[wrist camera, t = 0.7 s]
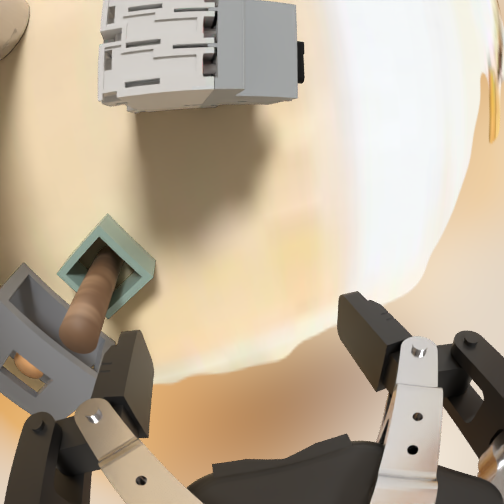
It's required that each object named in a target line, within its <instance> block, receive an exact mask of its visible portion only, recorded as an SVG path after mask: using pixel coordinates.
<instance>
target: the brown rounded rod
mask: <svg viewBox="0 0 504 504" xmlns="http://www.w3.org/2000/svg"><path fill="white" fill-rule="evenodd" d="M122 265H123V259H122V258H121V257H120V256H119V255H118V254H117V253H116V252H115V251H114V250H113V249H112V248H111V247H110V246H106V247H103V248H102V249H101V250H100V251H99V252H98V254H97V256H96V257H95V259H94V261H93V263H92V265H91V266H90V268H89V270H88V272H87V274H86V276H85V277H84V279H83V281H82V283H81V285H80V287H79V289H78V291H77V293H76V295H75V297H74V299H73V301H72V303H71V305H70V307H69V309H68V311H67V313H66V315H65V317H64V319H63V322H62V324H61V326H60V328H59V337H60V339H61V341H62V343H63V344H64V345H65V346H66V347H67V348H68V349H70V350H72V351H74V352H76V353H80V354H88V353H91V352H93V351H94V350H95V349H96V347H97V344H98V340H99V337H100V333H101V330H102V326H103V323H104V319H105V316H106V313H107V310H108V306H109V303H110V300H111V297H112V294H113V291H114V288H115V285H116V282H117V279H118V276H119V273H120V271H121V268H122Z"/></svg>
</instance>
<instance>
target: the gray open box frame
mask: <svg viewBox="0 0 504 504" xmlns="http://www.w3.org/2000/svg"><path fill="white" fill-rule="evenodd" d="M69 307H70V305H69V304H67V303H66V302H65V301H64V300H63V299H62V298H61V297H60V296H58V295H57V294H56V293H55V292H54V291H53V290H52V289H51V288H50V287H49V286H47V285H46V284H45V283H44V282H43V281H42V280H41V279H40V278H39V277H38V276H37V275H36V274H35V273H34V272H33V271H32V270H31V269H30V268H29V267H28V266H27V265H26V264H25V263H24V262H23V264H22V265H21V266H20V267H19V268H18V269H17V270H16V271H15V272H14V273H13V275H12V276H11V277H10V278H9V279H8V280H7V281H6V283H5V284H4V285H3V286H2V287H1V289H0V392H1V393H2V394H3V395H4V396H6V397H8V398H9V399H10V400H11V401H12V402H14V403H15V404H17V405H18V406H19V407H21V408H22V409H24V410H25V411H27V412H28V413H30V414H31V415H33V414H35V413H37V412H47V413H49V414H51V415H52V417H53V418H54V419H55V420H56V421H57V420H61V419H65V418H66V417H67V416H69V415H70V414H71V413H73V412H74V411H75V410H76V409H77V408H78V407H79V406H80V405H81V404H82V403H83V402H85V401H87V400H89V399H91V396H92V392H93V389H94V385H95V382H96V379H97V375H98V373H99V369H100V366H101V365H102V364H101V363H102V360H103V356H104V354H105V353H106V351H107V350H108V349H109V348H110V347H111V346H112V345H115V341H113V340H112V339H111V338H109V337H108V336H107V335H105V334H104V333H103V332H101V333H100V337H99V340H98V344H97V347H96V349H95V350H94V351H93V352H91V353H88V354H80V353H76V352H74V351H72V350H70V349H68V348H67V347H66V346H65V345H64V344H63V343H62V341H61V339H60V337H59V328H60V326H61V324H62V322H63V319H64V317H65V315H66V313H67V311H68V309H69ZM16 353H18V354H19V355H21V356H22V357H23V358H24V359H26V360H27V361H28V362H29V363H31V364H32V365H33V366H35V367H36V368H37V369H38V370H40V371H41V372H42V373H43V376H42V377H41V378H38V379H40V380H41V381H43V382H44V383H45V385H44V386H43V387H42V388H41V389H40V390H39V391H38V392H36V391H35V390H33V389H32V388H30V387H29V386H28V385H26V384H25V383H24V382H22V381H21V380H20V379H18V378H17V377H16V376H14V375H13V374H12V373H11V372H9V371H8V370H7V369H6V368H5V367H3V364H4V362H5V361H6V359H7V358H8V356H10V357H12V358H13V359H14V357H15V355H16ZM94 364H95V365H94ZM93 365H94V369H92V368H91V367H92V366H93Z"/></svg>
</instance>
